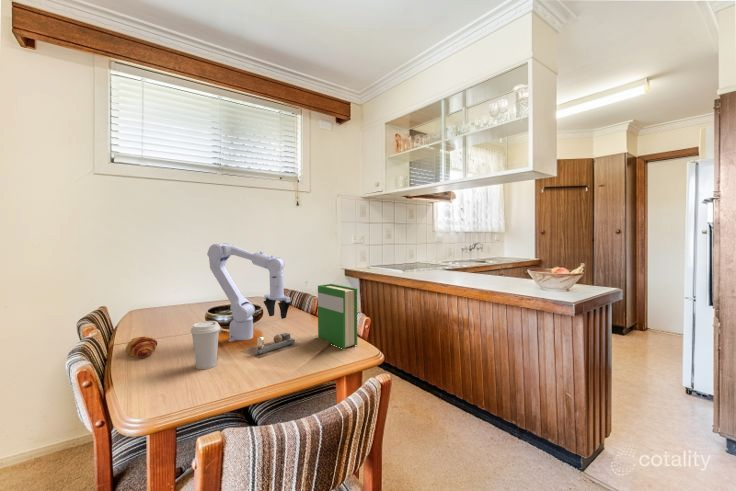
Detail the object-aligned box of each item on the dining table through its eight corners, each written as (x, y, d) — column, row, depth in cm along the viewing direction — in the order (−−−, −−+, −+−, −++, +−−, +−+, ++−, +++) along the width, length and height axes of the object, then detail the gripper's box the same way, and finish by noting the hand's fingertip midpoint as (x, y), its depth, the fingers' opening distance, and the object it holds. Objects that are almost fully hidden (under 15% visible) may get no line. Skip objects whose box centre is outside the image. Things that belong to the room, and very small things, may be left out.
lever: (291, 342, 136) (291, 327, 136) (294, 344, 135) (294, 328, 135) (256, 353, 124) (256, 337, 124) (259, 355, 123) (259, 338, 122)
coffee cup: (201, 373, 110) (200, 329, 109) (185, 367, 115) (184, 325, 114) (226, 363, 118) (226, 322, 117) (211, 358, 123) (210, 319, 122)
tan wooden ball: (271, 344, 135) (271, 335, 135) (276, 341, 138) (276, 333, 138) (279, 345, 134) (279, 336, 134) (284, 342, 137) (284, 333, 137)
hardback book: (357, 345, 136) (357, 288, 135) (343, 350, 131) (343, 290, 130) (331, 336, 149) (331, 283, 148) (318, 339, 144) (317, 285, 143)
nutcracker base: (283, 340, 143) (283, 331, 143) (301, 346, 135) (301, 336, 135) (241, 354, 127) (241, 343, 127) (258, 361, 120) (258, 350, 120)
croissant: (130, 355, 136) (118, 340, 133) (154, 339, 142) (143, 324, 139) (137, 370, 120) (124, 353, 117) (165, 351, 126) (153, 335, 123)
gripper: (258, 286, 143) (259, 317, 143) (281, 288, 135) (282, 321, 135) (270, 283, 149) (271, 313, 149) (293, 286, 141) (294, 317, 141)
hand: (277, 317), depth 143 cm, fingers open, 7 cm apart
